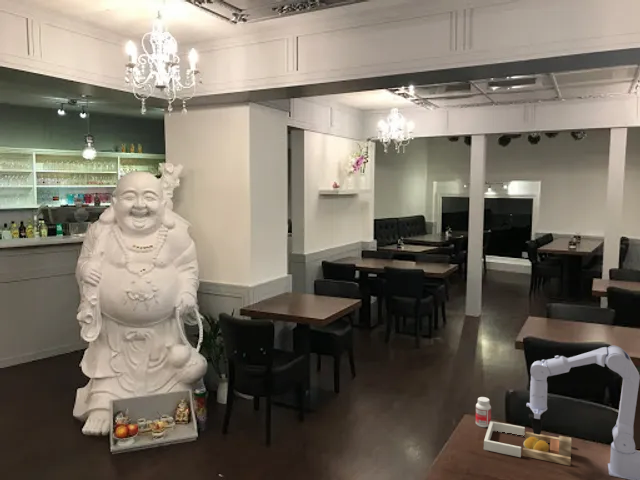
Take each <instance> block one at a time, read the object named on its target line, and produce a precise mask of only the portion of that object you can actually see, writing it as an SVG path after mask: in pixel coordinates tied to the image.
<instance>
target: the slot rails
mask: <svg viewBox="0 0 640 480" xmlns="http://www.w3.org/2000/svg"><path fill="white" fill-rule="evenodd" d="M524 437H525V438H526V439H527V438H529V437H535V438H537V439H539V440H542V441H545V442H548V443H550V440H551V439H555V440H559V436H558V437H556V436H551V435H546V434H541V433H540V435H538V434H534V432H530V431H525V436H524ZM526 439H525V440H526ZM522 457H527V458H531V459H532V458H533V459H537V460H542V461H547V462H550V463H557V464H560V465H565V466H571V459H572V458H571V457H568V456H563V455H558V454H553V453H550V452H549V453H548V452H543V451H538V450H533V449H528V448H525V447H522Z"/></svg>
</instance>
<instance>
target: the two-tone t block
mask: <svg viewBox="0 0 640 480" xmlns="http://www.w3.org/2000/svg"><path fill="white" fill-rule="evenodd" d="M558 438H559V440H555V439H551V440H550V444H549V447H550V450H549V453H553V454H558V455H563V456H568V457H571V456H572V437H569V436H568V437H567V436H562V435H559V436H558Z"/></svg>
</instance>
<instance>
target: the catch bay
mask: <svg viewBox="0 0 640 480" xmlns="http://www.w3.org/2000/svg"><path fill="white" fill-rule="evenodd" d="M497 431H498V433H502V432H505V433H504V434H507V433H512V434H517V435H523V436H524V435H525V434H526V428H525V426H521V425H515V424H510V423H503V422H499V421H494V420H491V421H490V424H489V427H487V430H486V433H485V437H484V440H483V450H484V451H487V452H489V451H490V452H494V453H498V454H503V455H508V456H513V457H516V458H517V457H518V458H521V457H522V446H518V445H513V444H509V443H503V442H498V441H494V440H491V438H492V436H493V432H497ZM512 434H511V435H512ZM517 435H516V436H517ZM523 436H522V437H523ZM524 437H525V436H524Z"/></svg>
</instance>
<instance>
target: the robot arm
mask: <svg viewBox="0 0 640 480" xmlns="http://www.w3.org/2000/svg"><path fill="white" fill-rule="evenodd" d="M591 364H597V365H599V366H601V367H603V368H604V367H605V365H606V367H607V368H609V369H610V370H611V371H613V372H614V373H617V374H618V375H619V376H621V378H622V385H621V393H620V401H619V407H618V408H619V409H618V414H617V415H618V416H617V419H616V424H615V425H614V426H613V428H612V430H611V432H612V433H611V434H612V437H613V441H612V442H611V443H610V459H609V463H607V469H608V475H609V476H612V477H616V478H620V479H625V480H640V450H637V449H636V443H635V440H634V423H635V416H636V409H637V408H636V407H637V401H638V393H639V386H640V372H639V371H638V369H637V367H636V366H635V364H634V362H633V361H632V359H631V357H630V355H629V354H628V353H627V351H625V350H624V349H623V348H622V347H620V346H618V345H610V346H608V347H607V346H604V347H599V348H597V349H593V350H591V351H588V352H584V353H581V354H578V355H573V356H570V357H566V356H564V355H559V354H558V355H554V358H548V359H541V360H536V361H535V360H534V362H533V363H532V364H531V365H530V371H529V372H530V381H529V382H530V386H529V402H526V407H528V408H530V411H532V413H529V414H528V418H529V421H530V422H531V427H532V431H533V432H532V433H534V434H538V435H540V434H541V432H542V429H543V425H544V424H545V422H546V420H547V417H544V415H545V413H546V412H547V410H548V381H547V380H548V379H547V378H548V377H553V376H557V375H561V374H565V373H569V372H570V370H571V368H575V367H581V366H587V365H591Z"/></svg>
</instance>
